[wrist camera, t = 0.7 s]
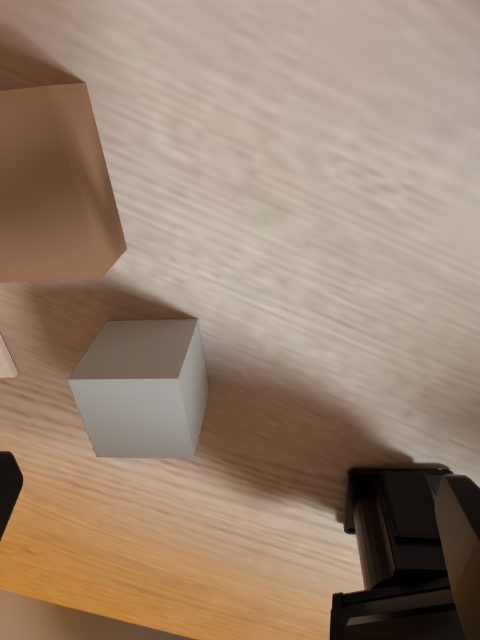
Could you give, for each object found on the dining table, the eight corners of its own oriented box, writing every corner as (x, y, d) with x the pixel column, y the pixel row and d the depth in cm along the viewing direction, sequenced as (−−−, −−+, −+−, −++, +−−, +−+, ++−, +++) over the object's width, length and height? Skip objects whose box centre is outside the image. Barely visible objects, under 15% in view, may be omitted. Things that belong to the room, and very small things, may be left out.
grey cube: (209, 390, 24) (194, 458, 20) (128, 390, 25) (96, 457, 21) (198, 317, 22) (178, 378, 18) (107, 320, 22) (67, 379, 18)
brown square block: (129, 246, 20) (102, 277, 17) (-3, 254, 21) (-49, 285, 18) (88, 82, 17) (46, 85, 14) (-68, 100, 17) (-140, 106, 14)
